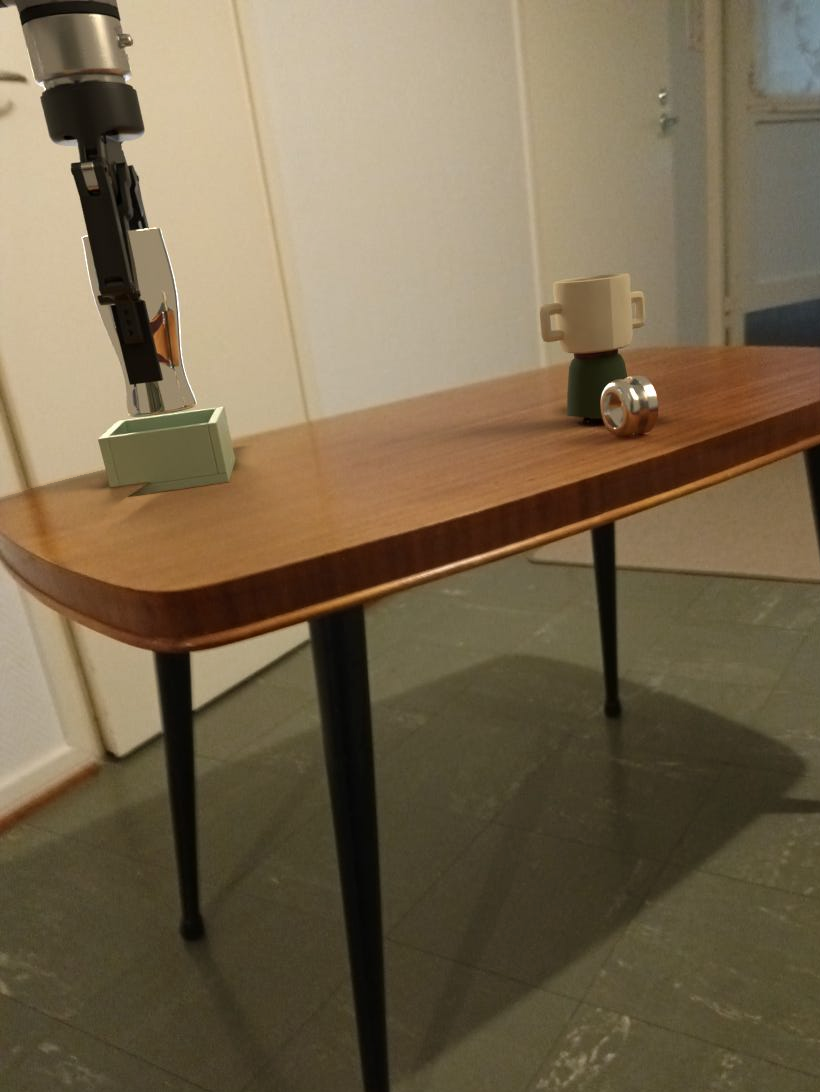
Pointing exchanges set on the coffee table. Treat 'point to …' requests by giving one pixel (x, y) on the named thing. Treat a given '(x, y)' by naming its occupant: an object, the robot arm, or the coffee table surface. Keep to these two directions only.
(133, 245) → the beer glass
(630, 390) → the metal grooved wheel
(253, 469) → the coffee table surface
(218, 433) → the green storage bin
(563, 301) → the character mug
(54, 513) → the coffee table surface
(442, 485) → the coffee table surface
